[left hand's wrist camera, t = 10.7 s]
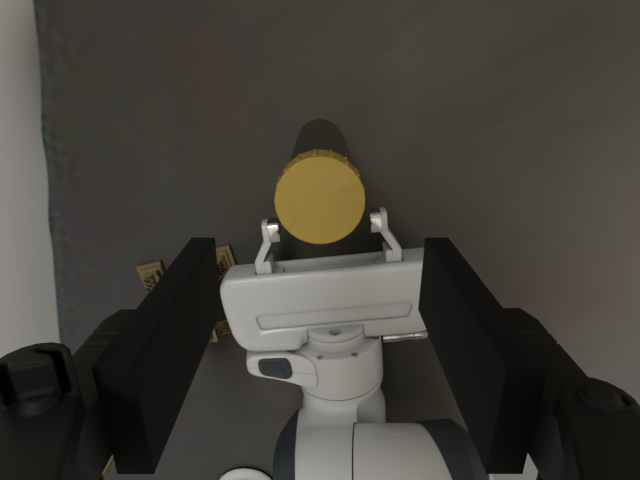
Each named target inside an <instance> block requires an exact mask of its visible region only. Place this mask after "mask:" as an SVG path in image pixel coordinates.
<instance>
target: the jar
mask: <svg viewBox="0 0 640 480" xmlns="http://www.w3.org/2000/svg"><path fill="white" fill-rule="evenodd" d="M219 480H271V478H270V477H268V476H267V475H266V474H264V473H262V472H260V471H258V470H255V469H249V468H240V469H235V470H231V471H229V472H227V473H226V474H224V475H223V476H222V477H221V478H220V479H219Z"/></svg>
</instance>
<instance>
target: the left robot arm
mask: <svg viewBox="0 0 640 480" xmlns="http://www.w3.org/2000/svg"><path fill="white" fill-rule="evenodd" d="M221 310H222V306H221V296H220V286H219V275H218V265H217V255H216V245H215V238H191V239H190V241H189V242H188V243H187V245H186V246H185V247H184V248H183V250H182V251H181V252H180V254H179V255H178V256H177V257H176V259H175V260H174V261H173V263H172V264H171V265H170V266H169V268H168V269H167V270H166V272H165V273H164V274H163V275H162V277H161V278H160V279H159V281H158V282H157V283H156V285H155V286H154V287H153V288H152V290H151V291H150V292H149V294H148V295H147V296H146V297H145V299H144V300H143V301H142V303H141V304H140V305H139V306H138V308H137V309H136V310H119V311H118V312H116V313H114V314H113V315H111V316H110V317H108V318H106V319H105V320H103V321H102V323H101V324H100V325H99V326H98V327H97V328H96V329H95V331H94V332H93V335H90V336H89V337H88V339H87V340H86V341H85V342H84V345H83V346H81V347H80V348H79V349H78V350H77V351H76V352H75V353H74V355H73V356H71V352H70V349H69V348H68V347H66V346H65V345H63V344H59V343H52V342H51V343H40V344H34V345H31V346H27V347H23V348H20V349H18V350H16V351H13V352H11V353H9V354H7V355H5V356H3V357H2V358H0V480H104V477H103V474H102V473H103V471H104V469H105V467H106V465H107V463H108V462H109V460H110V458H111V456H112V454H113V458H114V462H115V466H116V470H117V474H154V472H155V470H156V467H157V465H158V463H159V460H160V458H161V455H162V453H163V450H164V448H165V446H166V443H167V441H168V438H169V436H170V434H171V431H172V429H173V426H174V424H175V422H176V419H177V417H178V414H179V412H180V409H181V407H182V405H183V402H184V400H185V397H186V395H187V393H188V390H189V388H190V385H191V383H192V380H193V378H194V376H195V373H196V371H197V368H198V366H199V364H200V361H201V359H202V356H203V354H204V351H205V349H206V347H207V344H208V342H209V339H210V337H211V335H212V332H213V330H214V327H215V325H216V323H217V320H218V318H219V315H220V313H221ZM418 310H419V313H420V315H421V318H422V320H423V323H424V325H425V327H426V330H427V332H428V335H429V337H430V339H431V342H432V344H433V347H434V349H435V351H436V354H437V356H438V359H439V361H440V364H441V366H442V368H443V371H444V373H445V376H446V378H447V380H448V383H449V385H450V388H451V390H452V393H453V395H454V397H455V400H456V402H457V405H458V407H459V409H460V412H461V414H462V417H463V419H464V422H465V424H466V426H467V429H468V431H469V434H470V436H471V438H472V441H473V443H474V446H475V448H476V450H477V453H478V455H479V458H480V460H481V463H482V465H483V467H484V470H485V472H486V474H523V470H524V466H525V462H526V458H527V454H529V456H530V458H531V459H532V461H533V463H534V465H535V467H536V468H537V470H538V474H537V477H536V480H640V406H639V405H638V403H637V402H636V401H635V399H634V398H632V397H631V396H630V395H628V394H627V393H626V392H625V391H623V390H622V389H620V388H618V387H616V386H614V385H612V384H610V383H608V382H605V381H601V380H598V379H595V378H590V377H587V375H586V374H585V373H584V372H583V371H582V370H581V369H580V367H579V366H578V365H577V364H576V363H575V362H574V361H573V359H572V358H571V357H570V356H569V355H568V354H567V353H566V352H565V350H564V349H563V348H562V347H561V346H560V345H559V344H557V341H556V340H555V339H554V338H553V337H552V336H551V334H548V331H547V330H546V329H545V328H544V327H543V325H542V324H541V323H540V322H539V321H538V320H537V319H536V318H535V317H533V316H531V315H530V314H528V313H526V312H525V311H523V310H522V309H520V308H502V306H501V305H500V304H499V303H498V301H497V300H496V299H495V297H494V296H493V295H492V294H491V292H490V291H489V290H488V288H487V287H486V286H485V285H484V283H483V282H482V281H481V279H480V278H479V277H478V275H477V274H476V273H475V272H474V270H473V269H472V268H471V266H470V265H469V264H468V263H467V261H466V260H465V259H464V257H463V256H462V255H461V254H460V252H459V251H458V250H457V248H456V247H455V246H454V245H453V243H452V242H451V241H450V239H449V238H425V245H424V255H423V265H422V275H421V286H420V296H419V306H418Z"/></svg>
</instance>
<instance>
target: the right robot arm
mask: <svg viewBox="0 0 640 480" xmlns="http://www.w3.org/2000/svg"><path fill="white" fill-rule="evenodd" d="M368 215H369V217H370V218H369V227H370V230H371V233H374V232H381V234H382V235H383V237H384V238H385V240H386V241H384V242H383V251H380V252H370V253H359V254H349V255H338V256H328V257H317V258H307V259H296V260H286V261H275V262H274V259H273V253H271V252H270V253H267V252H268V250H269V247H270V245H271V243H272V242H280V241H281V237H282V231H281V227H280V220H279V218H270V219H263V221H262V233H263V243H262V245H261V247H260V250H259V252H258V255H257V257H256V260H255V263H254V264H243V265H234V266H232V267H231V268H230V269H229V270H228V272H227V273H226V274H225V276H224V278H223V280H222V282H221V286H220V295H221V300H222V304H223V308H224V311H225V315H226V318H227V321H228V324H229V326H230V329H231V331H232V334H233V336H234V338H235V339H236V341H237V342H238V343H239V344H240V345H241V346H242V347H243V348H245V349H247V369H248V371H249V372H250V373H251V374H253V375H255V376H260V377H266V378H272V379H277V380H282V381H286V382H290V383H294V384H297V385H300V386H301V388H302V391H303V395H304V398H303V406H302V409H298V410H297V411H296V412H295V413H294V414H293V416H292V417H291V418H290V420H289V421H288V423H287V424H286V426H285V427H284V429H283V430H282V432H281V434H280V436H279V438H278V441H277V444H276V448H275V454H274V461H273V480H536V477H537V474H538V470H537V468H536V467H535V465H534V463H533V461H532V459H531V458H530V456H529V454H527V458H526V462H525V466H524V470H523V474H486V472H485V470H484V467H483V465H482V463H481V460H480V458H479V455H478V453H477V450H476V448H475V446H474V443H473V441H472V438H471V436H470V434H469V432H468V431H467V430H465V429H464V428H463V427H461V426H460V425H459V424H457V423H456V422H454V421H453V420H451V419H449V418H447V419H437V420H426V421H415V422H413V423H386V410H385V399H384V395H383V393H382V390H381V388H380V385H381V382H382V378H383V358H382V343H387V342H397V341H403V340H406V339H407V340H409V339H414V340H421V339H425V338H427V335H428V332H427V330H426V327H425V325H424V323H423V320H422V318H421V315H420V313H419V310H418V306H419V296H420V286H421V275H422V265H423V255H424V248H412V249H401V247H400V245H399V243H398V240H397V239H396V237H395V236H394V235H393V233H392V232H391V230H390V229H389V228H388V223H387V212H386V209H385V207H380V208H371V209H368Z"/></svg>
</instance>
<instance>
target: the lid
mask: <svg viewBox="0 0 640 480" xmlns="http://www.w3.org/2000/svg"><path fill="white" fill-rule="evenodd" d="M359 176H360V175H359V172H358V170H357V168H354V166H353V165H352V164H351V163H350V162H349V161H348V160H347V157H346V156H345V157H343V156H341V155H340V154H337V153H335V152H332V150H330V151H328V150H316V149H314V150H312V151H308V152H305V153H302V154H300V153H299V154H298V156H297V157H295V158H294V159H293V160H292V161H291V162H290V163H289V164H288V163H287V164H286V166H285V169H284V171H283V173H282V175H281V177H279V178H278V181H277V183H276V185H277V188H276V192H275V199H274V202H275V208H276V212H277V215H278V218H279V220H280V222H281V223H282V225H283V226H284V227H285V229H286V230H287V231H288V232H289V233H291V234H292V235H293V236H295V237H296V238H298V239H300V240H303V241H305V242H309V243H314V244H326V243H331V242H335V241H338V240H340V239H342V238H344V237H345V236H347V235H348V234H349V233H350V232H352V231H353V230H354V228H355V227H356V226H357V225H358V223H359V222H360V220H361V218H362V215H363V212H364V208H365V188H364V185H363V183H361V180H360V177H359Z"/></svg>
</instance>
